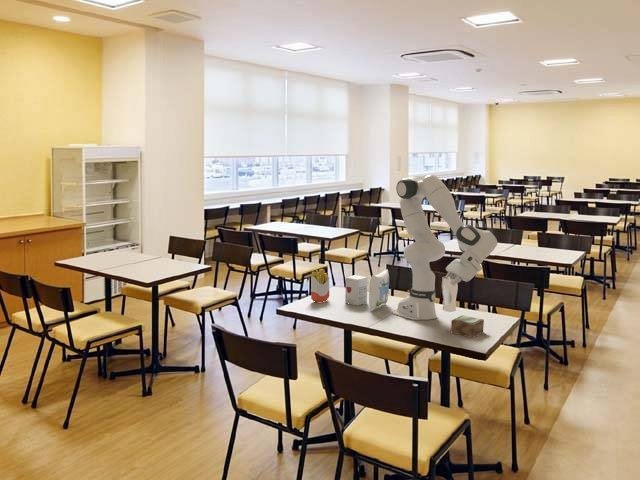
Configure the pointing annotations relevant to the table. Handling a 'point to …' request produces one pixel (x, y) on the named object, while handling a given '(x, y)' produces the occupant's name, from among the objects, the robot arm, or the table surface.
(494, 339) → the table surface
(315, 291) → the french fries container
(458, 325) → the brown green square block
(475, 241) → the robot arm
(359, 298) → the supplement box
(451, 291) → the beer glass
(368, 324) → the table surface
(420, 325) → the table surface
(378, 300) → the pouch
